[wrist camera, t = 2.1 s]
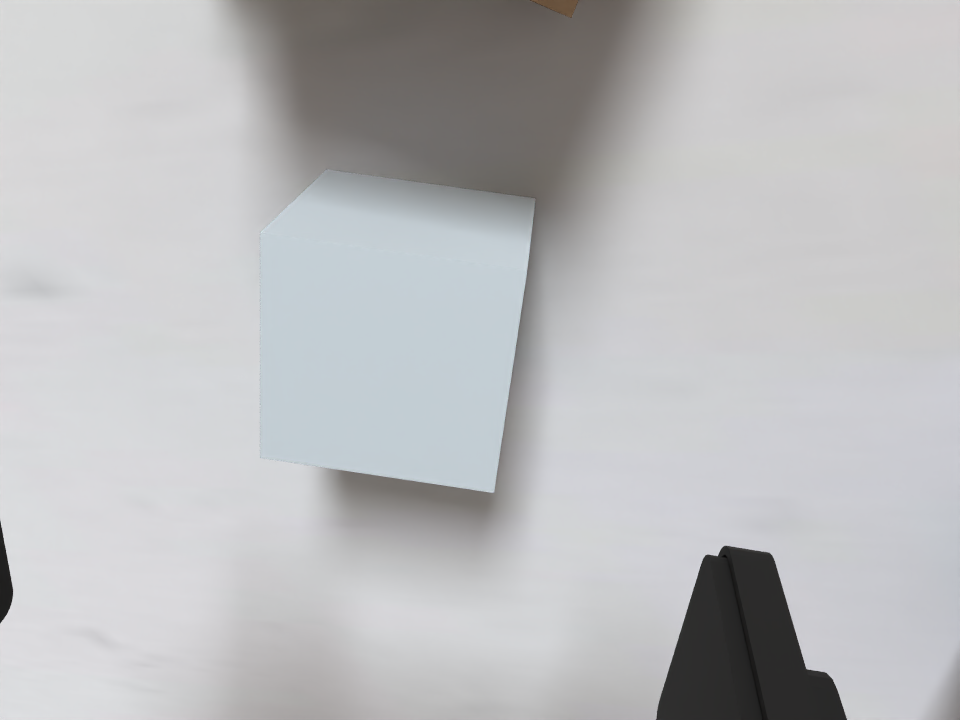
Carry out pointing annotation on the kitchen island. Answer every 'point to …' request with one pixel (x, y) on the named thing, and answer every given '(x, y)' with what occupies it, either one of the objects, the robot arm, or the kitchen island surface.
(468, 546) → the kitchen island surface
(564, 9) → the bottom block
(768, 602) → the robot arm
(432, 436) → the cube
